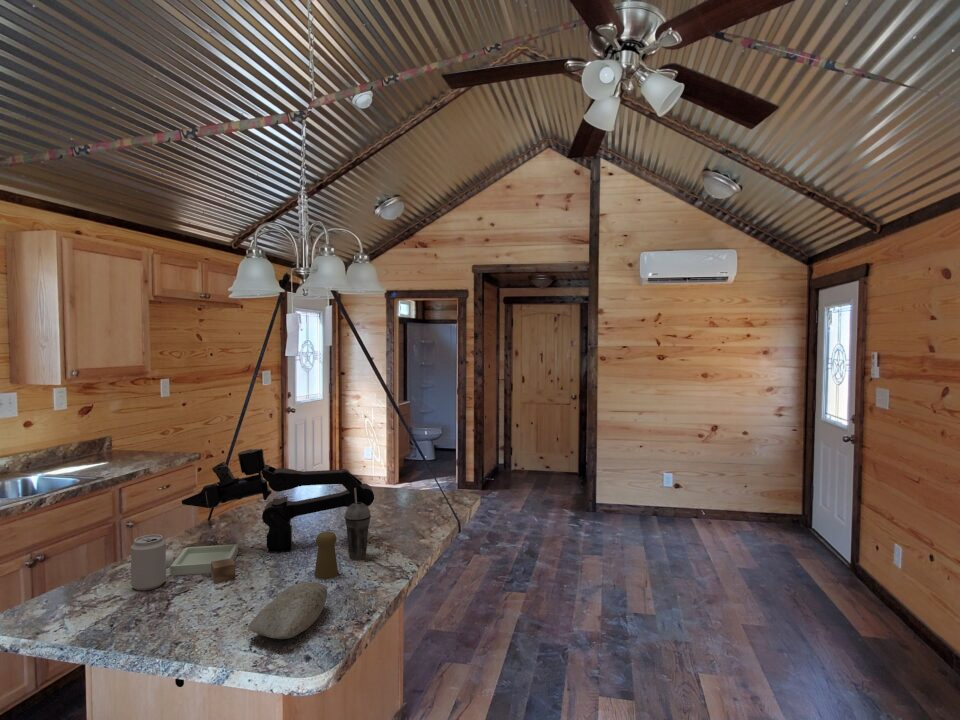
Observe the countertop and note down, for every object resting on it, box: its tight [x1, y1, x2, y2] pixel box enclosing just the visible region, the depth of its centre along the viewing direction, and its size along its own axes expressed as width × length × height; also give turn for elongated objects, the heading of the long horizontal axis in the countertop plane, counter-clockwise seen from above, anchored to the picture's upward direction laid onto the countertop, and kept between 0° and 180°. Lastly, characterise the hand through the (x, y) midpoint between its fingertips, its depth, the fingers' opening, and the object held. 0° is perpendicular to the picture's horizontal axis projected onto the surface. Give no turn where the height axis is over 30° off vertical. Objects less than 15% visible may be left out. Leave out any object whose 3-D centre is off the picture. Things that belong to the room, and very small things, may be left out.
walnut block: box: [210, 558, 236, 584], centre depth 146 cm, size 5×5×4 cm
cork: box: [313, 531, 339, 580], centre depth 148 cm, size 6×6×11 cm
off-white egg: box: [166, 549, 175, 569], centre depth 153 cm, size 5×5×4 cm
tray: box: [169, 543, 239, 577], centre depth 155 cm, size 14×14×2 cm
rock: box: [247, 581, 328, 640], centre depth 121 cm, size 8×11×20 cm
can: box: [130, 533, 167, 591], centre depth 141 cm, size 8×8×12 cm
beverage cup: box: [344, 488, 372, 561], centre depth 160 cm, size 7×7×20 cm
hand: (186, 500), depth 160 cm, fingers open, 9 cm apart
